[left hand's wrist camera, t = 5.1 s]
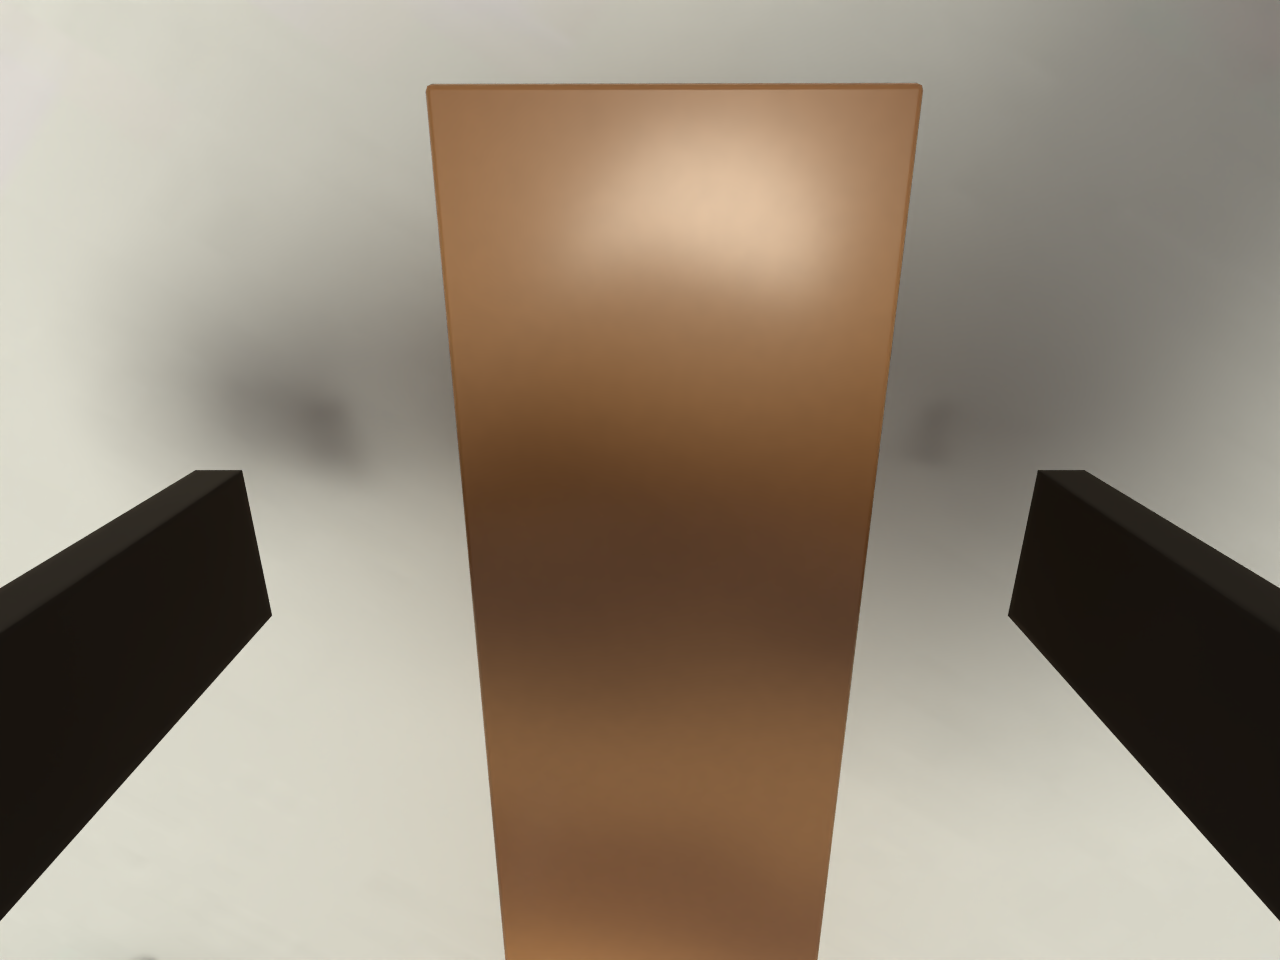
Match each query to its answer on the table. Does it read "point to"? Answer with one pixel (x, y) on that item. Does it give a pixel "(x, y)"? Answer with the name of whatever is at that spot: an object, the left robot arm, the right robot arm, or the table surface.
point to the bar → (668, 488)
